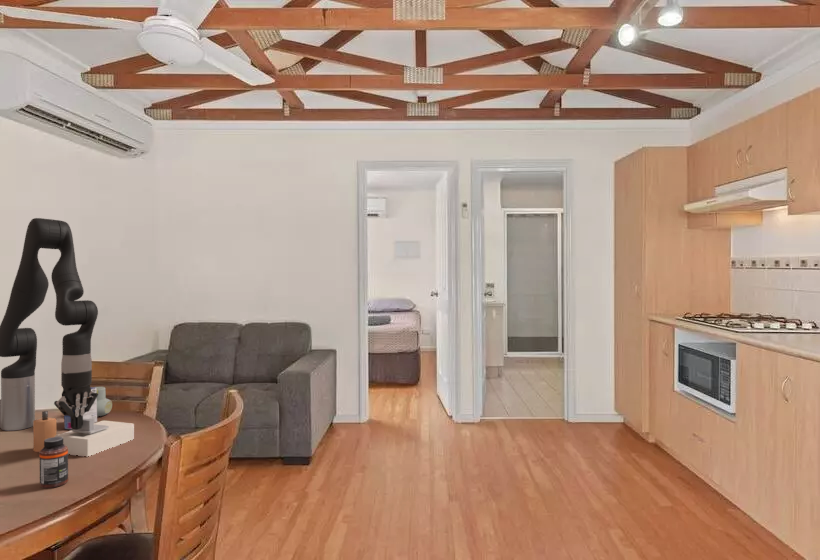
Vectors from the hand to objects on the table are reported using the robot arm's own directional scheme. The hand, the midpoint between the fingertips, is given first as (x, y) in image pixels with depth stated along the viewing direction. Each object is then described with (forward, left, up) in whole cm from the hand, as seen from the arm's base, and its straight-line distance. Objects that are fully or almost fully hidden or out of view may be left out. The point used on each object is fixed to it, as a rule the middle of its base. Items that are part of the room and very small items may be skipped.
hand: (76, 428), depth 158 cm
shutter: (0, +5, -2) cm, 5 cm away
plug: (-11, -1, -7) cm, 13 cm away
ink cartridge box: (-23, +22, -7) cm, 33 cm away
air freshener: (-29, +34, -7) cm, 45 cm away
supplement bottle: (+15, -20, -7) cm, 26 cm away
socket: (0, +6, -7) cm, 9 cm away
